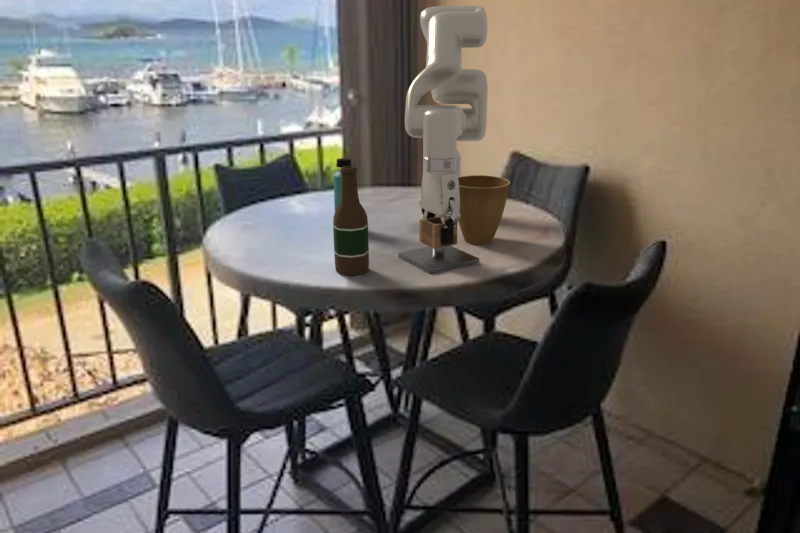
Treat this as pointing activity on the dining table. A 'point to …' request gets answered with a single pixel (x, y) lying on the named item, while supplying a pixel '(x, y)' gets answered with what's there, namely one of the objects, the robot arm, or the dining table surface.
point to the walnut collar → (434, 232)
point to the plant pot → (481, 206)
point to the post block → (438, 258)
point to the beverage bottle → (339, 180)
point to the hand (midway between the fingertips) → (438, 239)
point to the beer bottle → (350, 228)
